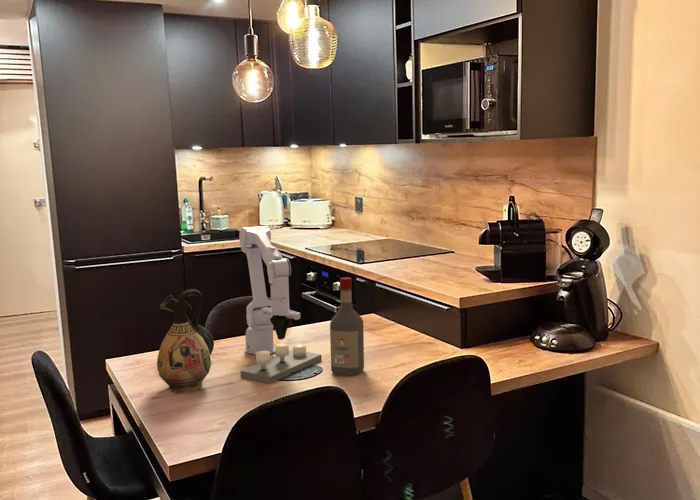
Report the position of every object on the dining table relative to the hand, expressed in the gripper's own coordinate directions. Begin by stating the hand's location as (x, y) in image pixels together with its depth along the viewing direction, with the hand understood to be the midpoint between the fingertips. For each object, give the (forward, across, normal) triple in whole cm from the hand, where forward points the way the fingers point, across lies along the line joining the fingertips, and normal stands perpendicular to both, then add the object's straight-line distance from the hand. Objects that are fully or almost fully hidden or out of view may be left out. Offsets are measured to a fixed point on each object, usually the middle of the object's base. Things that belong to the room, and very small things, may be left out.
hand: (281, 338), depth 209 cm
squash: (+10, -31, -10) cm, 34 cm away
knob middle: (+7, 0, 0) cm, 7 cm away
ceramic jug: (+10, -13, -28) cm, 32 cm away
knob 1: (+7, 0, -9) cm, 12 cm away
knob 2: (+10, 0, +9) cm, 13 cm away
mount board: (+10, 0, 0) cm, 10 cm away
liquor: (+10, +20, +8) cm, 24 cm away
